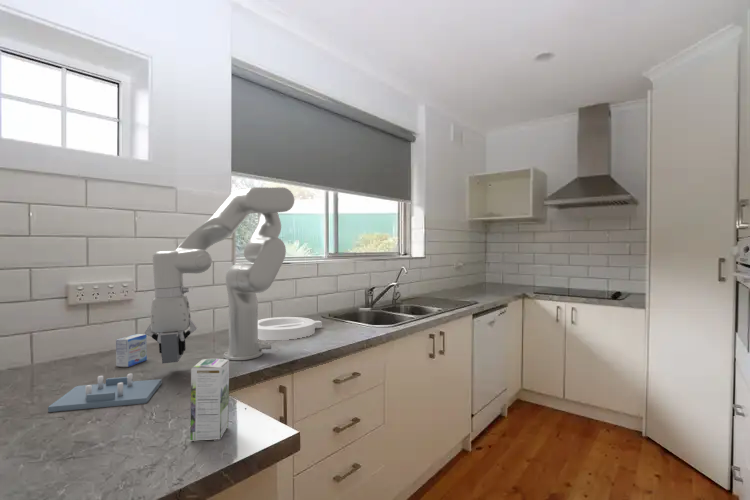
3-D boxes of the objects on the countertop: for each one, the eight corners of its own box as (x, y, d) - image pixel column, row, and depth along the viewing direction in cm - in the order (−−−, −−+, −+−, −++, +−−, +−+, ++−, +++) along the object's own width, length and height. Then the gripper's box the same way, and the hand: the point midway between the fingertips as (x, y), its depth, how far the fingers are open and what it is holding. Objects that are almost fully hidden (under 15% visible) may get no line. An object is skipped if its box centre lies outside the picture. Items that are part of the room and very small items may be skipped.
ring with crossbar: (324, 328, 182) (324, 318, 182) (298, 343, 155) (298, 331, 155) (268, 325, 189) (268, 315, 189) (234, 339, 161) (234, 327, 161)
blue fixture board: (161, 383, 109) (161, 368, 109) (146, 403, 95) (146, 385, 95) (76, 390, 104) (76, 374, 104) (48, 412, 90) (48, 393, 90)
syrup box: (200, 428, 82) (199, 358, 82) (229, 427, 83) (229, 358, 82) (189, 442, 76) (189, 367, 76) (221, 441, 77) (221, 366, 77)
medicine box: (127, 367, 123) (127, 339, 123) (115, 366, 124) (115, 339, 124) (147, 360, 131) (147, 334, 131) (135, 359, 132) (135, 333, 132)
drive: (183, 353, 122) (182, 327, 122) (177, 361, 114) (176, 334, 114) (168, 355, 121) (167, 328, 120) (162, 363, 113) (160, 335, 113)
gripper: (202, 289, 122) (205, 347, 123) (141, 293, 118) (145, 353, 119) (198, 292, 115) (201, 355, 116) (133, 297, 111) (137, 361, 112)
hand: (172, 353), depth 117 cm, fingers closed on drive, 4 cm apart
